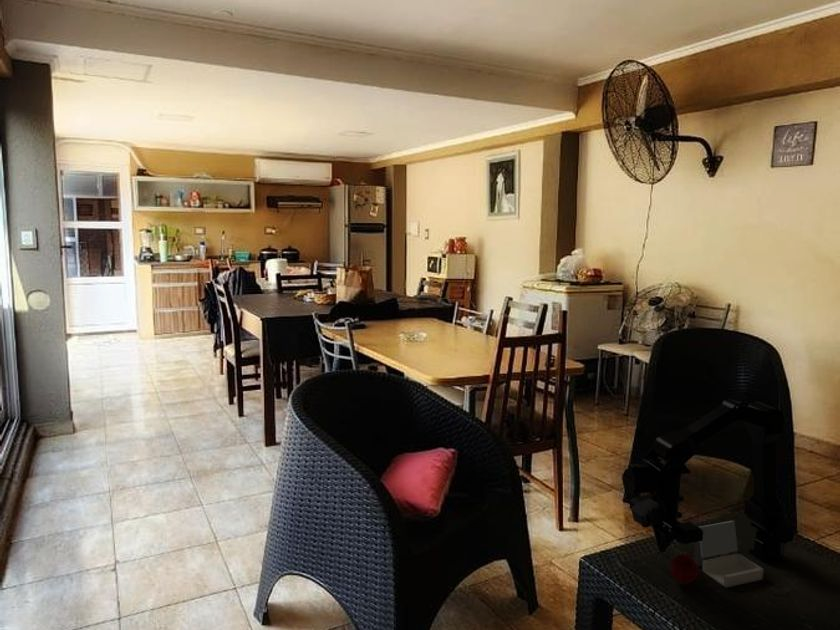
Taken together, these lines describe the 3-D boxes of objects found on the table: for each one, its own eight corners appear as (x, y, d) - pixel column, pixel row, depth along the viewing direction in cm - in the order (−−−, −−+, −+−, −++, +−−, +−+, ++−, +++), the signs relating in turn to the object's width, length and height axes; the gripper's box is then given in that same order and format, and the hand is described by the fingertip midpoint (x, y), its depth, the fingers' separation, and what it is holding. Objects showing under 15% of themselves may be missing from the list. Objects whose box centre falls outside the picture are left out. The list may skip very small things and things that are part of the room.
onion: (699, 593, 136) (702, 560, 135) (672, 589, 137) (674, 556, 136) (693, 578, 142) (696, 546, 140) (667, 575, 143) (669, 543, 141)
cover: (737, 550, 148) (733, 549, 149) (734, 521, 149) (729, 520, 150) (703, 557, 145) (699, 556, 146) (700, 527, 145) (696, 526, 147)
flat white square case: (726, 556, 152) (729, 533, 151) (762, 579, 142) (765, 555, 141) (691, 563, 148) (693, 540, 147) (726, 587, 138) (728, 563, 137)
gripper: (613, 478, 149) (609, 537, 152) (667, 512, 132) (661, 578, 134) (650, 473, 153) (646, 531, 155) (707, 505, 135) (701, 570, 138)
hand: (661, 551), depth 146 cm, fingers closed
